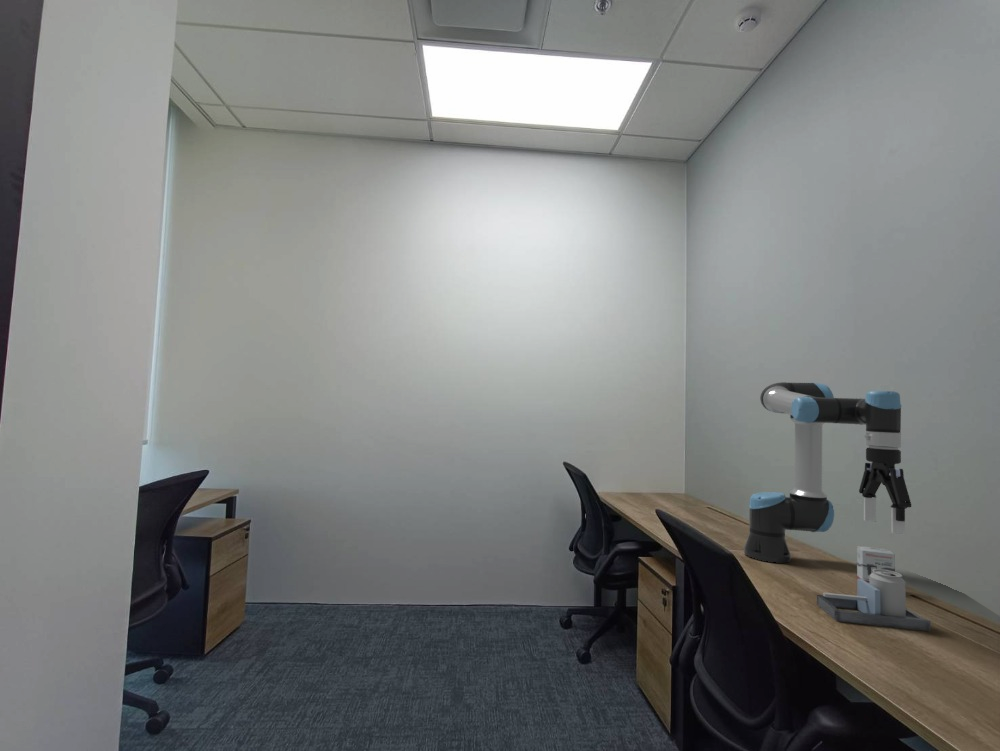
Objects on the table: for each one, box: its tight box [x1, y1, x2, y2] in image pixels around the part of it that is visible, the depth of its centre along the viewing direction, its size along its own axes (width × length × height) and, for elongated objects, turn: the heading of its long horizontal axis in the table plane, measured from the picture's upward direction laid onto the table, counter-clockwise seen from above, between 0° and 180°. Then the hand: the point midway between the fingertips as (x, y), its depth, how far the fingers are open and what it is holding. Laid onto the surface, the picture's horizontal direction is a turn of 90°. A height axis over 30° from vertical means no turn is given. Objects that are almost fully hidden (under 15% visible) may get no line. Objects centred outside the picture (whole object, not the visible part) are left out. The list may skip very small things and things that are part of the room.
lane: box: [816, 594, 932, 632], centre depth 130 cm, size 12×21×2 cm, turn 79°
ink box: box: [856, 545, 896, 584], centre depth 154 cm, size 9×5×12 cm, turn 69°
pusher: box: [822, 578, 880, 614], centre depth 132 cm, size 9×11×8 cm
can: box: [870, 569, 907, 617], centre depth 130 cm, size 8×8×12 cm
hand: (883, 527), depth 134 cm, fingers open, 13 cm apart
